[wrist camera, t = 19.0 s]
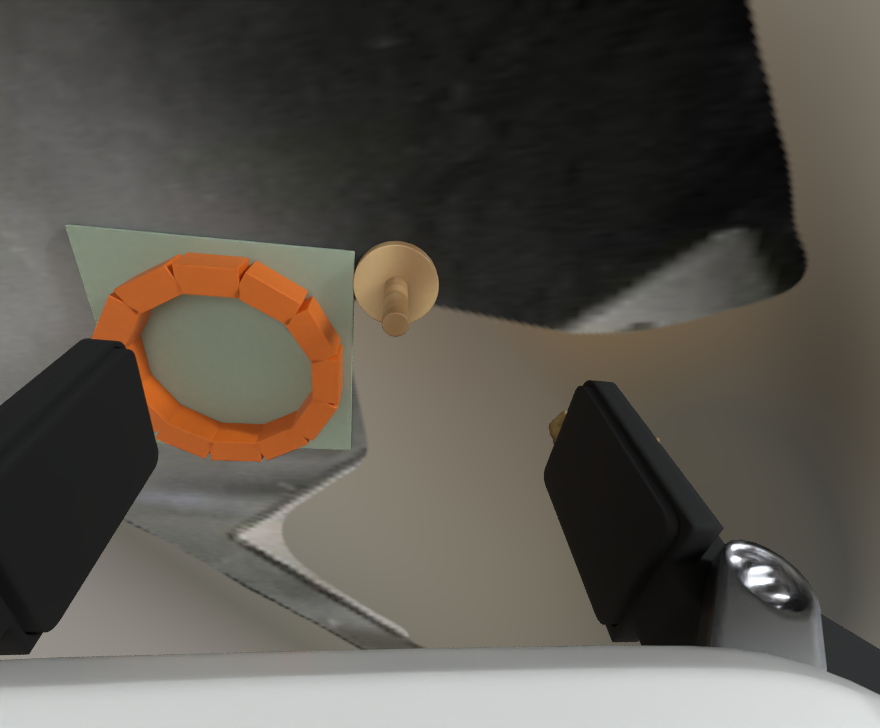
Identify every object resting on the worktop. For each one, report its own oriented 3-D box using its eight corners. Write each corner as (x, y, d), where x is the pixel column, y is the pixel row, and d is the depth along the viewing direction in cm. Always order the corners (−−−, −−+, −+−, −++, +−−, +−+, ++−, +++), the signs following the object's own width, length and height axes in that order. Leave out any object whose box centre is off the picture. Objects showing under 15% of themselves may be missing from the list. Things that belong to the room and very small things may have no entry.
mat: (135, 439, 37) (132, 442, 37) (68, 224, 28) (64, 225, 28) (350, 447, 39) (350, 450, 39) (354, 250, 30) (354, 252, 30)
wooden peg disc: (353, 316, 33) (343, 365, 27) (355, 236, 30) (343, 271, 24) (432, 322, 33) (440, 371, 28) (442, 244, 30) (452, 281, 24)
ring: (143, 437, 36) (127, 457, 34) (84, 242, 28) (59, 254, 26) (342, 444, 39) (339, 464, 37) (343, 265, 30) (339, 277, 28)
